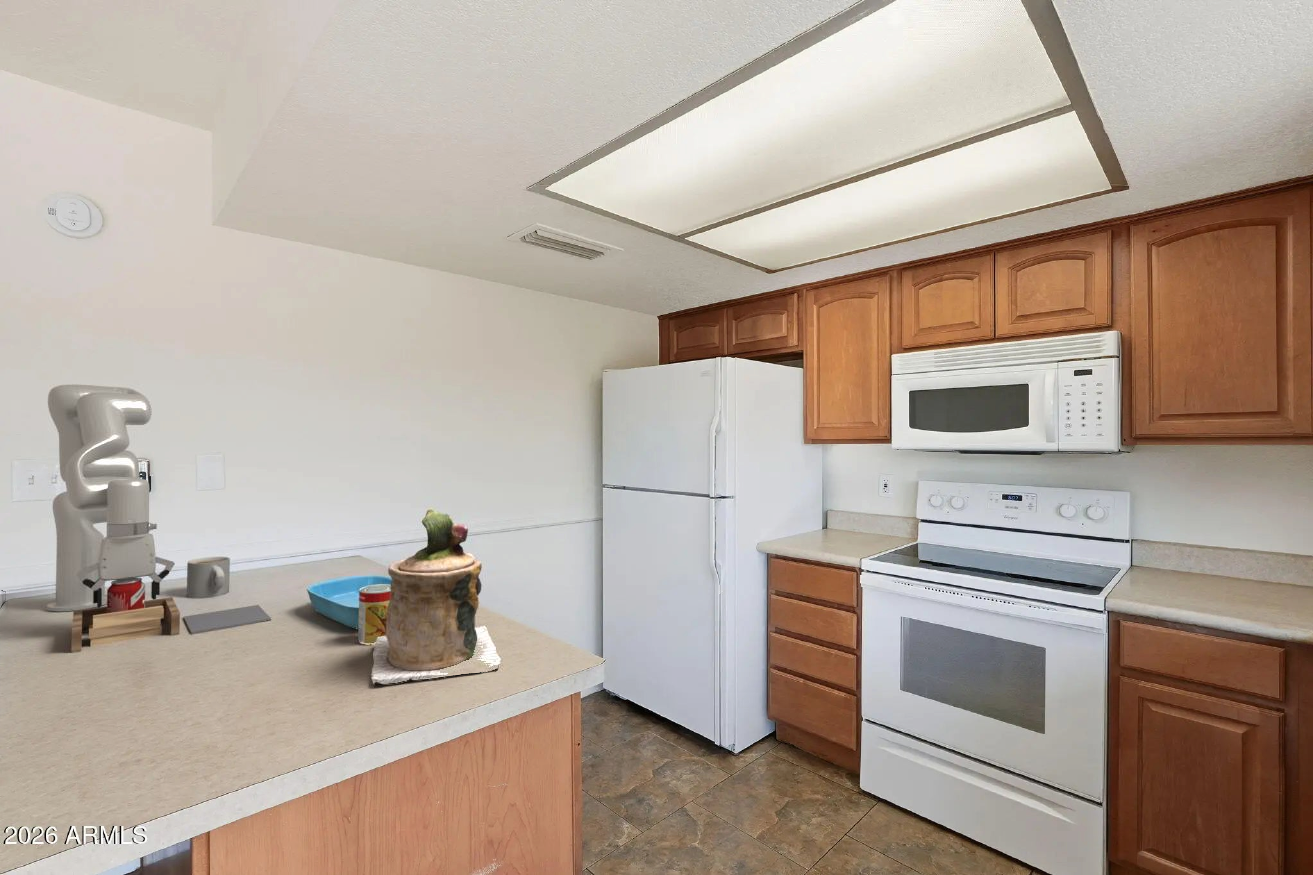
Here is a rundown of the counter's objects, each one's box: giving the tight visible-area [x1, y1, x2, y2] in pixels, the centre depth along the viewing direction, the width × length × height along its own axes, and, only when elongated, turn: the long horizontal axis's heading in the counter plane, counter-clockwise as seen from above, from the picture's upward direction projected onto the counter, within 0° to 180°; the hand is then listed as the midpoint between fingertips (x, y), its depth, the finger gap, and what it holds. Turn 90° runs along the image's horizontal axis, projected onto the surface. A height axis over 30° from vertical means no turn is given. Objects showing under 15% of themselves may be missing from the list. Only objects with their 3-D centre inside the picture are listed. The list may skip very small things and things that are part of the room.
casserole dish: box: [306, 574, 392, 630], centre depth 155 cm, size 37×22×7 cm, turn 53°
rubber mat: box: [183, 604, 272, 635], centre depth 148 cm, size 16×16×1 cm
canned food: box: [357, 584, 391, 643], centre depth 136 cm, size 8×8×12 cm
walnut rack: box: [70, 596, 181, 653], centre depth 137 cm, size 18×18×5 cm
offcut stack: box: [88, 606, 164, 647], centre depth 134 cm, size 4×13×6 cm, turn 134°
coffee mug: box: [186, 556, 231, 599], centre depth 171 cm, size 13×10×10 cm
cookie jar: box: [370, 508, 502, 685], centre depth 125 cm, size 25×25×32 cm
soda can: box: [106, 577, 146, 613], centre depth 139 cm, size 7×7×12 cm
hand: (127, 602), depth 139 cm, fingers open, 9 cm apart
